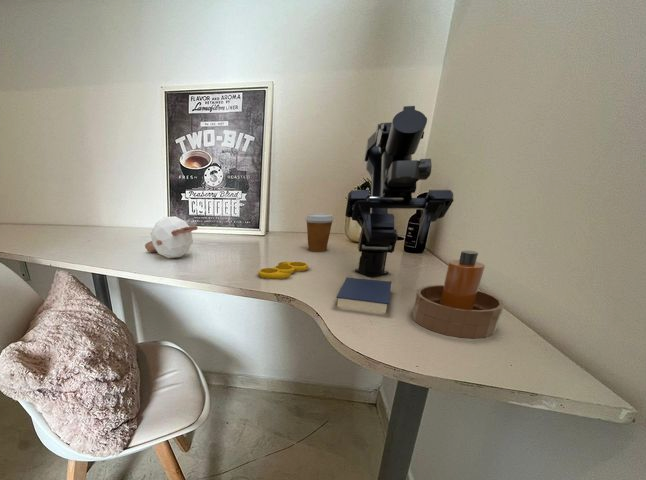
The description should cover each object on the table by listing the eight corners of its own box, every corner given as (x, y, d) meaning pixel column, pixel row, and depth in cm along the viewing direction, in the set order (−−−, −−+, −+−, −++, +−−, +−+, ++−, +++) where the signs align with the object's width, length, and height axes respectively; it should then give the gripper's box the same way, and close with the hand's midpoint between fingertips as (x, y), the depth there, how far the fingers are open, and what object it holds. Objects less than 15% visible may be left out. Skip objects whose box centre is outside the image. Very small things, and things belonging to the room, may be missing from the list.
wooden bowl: (442, 306, 70) (448, 281, 68) (510, 331, 59) (520, 302, 57) (396, 318, 65) (401, 291, 63) (462, 348, 54) (471, 317, 52)
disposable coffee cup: (325, 254, 113) (328, 217, 108) (299, 251, 117) (301, 215, 113) (334, 248, 120) (337, 214, 115) (309, 245, 125) (311, 212, 120)
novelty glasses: (249, 273, 94) (272, 282, 86) (249, 268, 93) (272, 276, 86) (293, 264, 102) (317, 271, 95) (293, 259, 102) (317, 266, 94)
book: (345, 288, 81) (346, 277, 80) (389, 293, 77) (391, 281, 76) (335, 309, 69) (336, 296, 68) (386, 316, 66) (389, 303, 65)
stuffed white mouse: (173, 258, 126) (158, 222, 122) (215, 244, 108) (199, 202, 104) (142, 271, 117) (125, 232, 113) (182, 258, 99) (164, 212, 95)
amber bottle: (447, 313, 65) (464, 247, 59) (474, 324, 60) (495, 253, 55) (429, 319, 63) (445, 250, 57) (455, 330, 58) (475, 257, 53)
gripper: (353, 144, 63) (348, 215, 58) (464, 140, 58) (469, 216, 54) (347, 185, 73) (343, 247, 68) (441, 184, 69) (443, 251, 64)
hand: (395, 241), depth 63 cm, fingers open, 9 cm apart
